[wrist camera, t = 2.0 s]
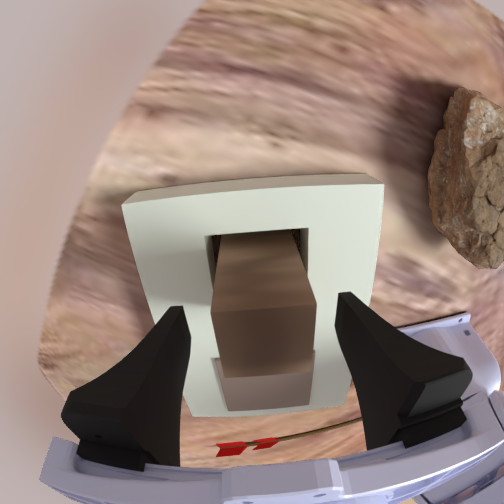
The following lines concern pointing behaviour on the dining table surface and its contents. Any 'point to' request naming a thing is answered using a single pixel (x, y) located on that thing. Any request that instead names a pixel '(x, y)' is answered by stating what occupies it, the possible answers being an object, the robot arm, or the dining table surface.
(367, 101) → the dining table surface
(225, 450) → the arrow
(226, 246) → the block
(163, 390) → the robot arm
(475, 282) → the dining table surface
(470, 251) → the rock
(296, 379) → the board
